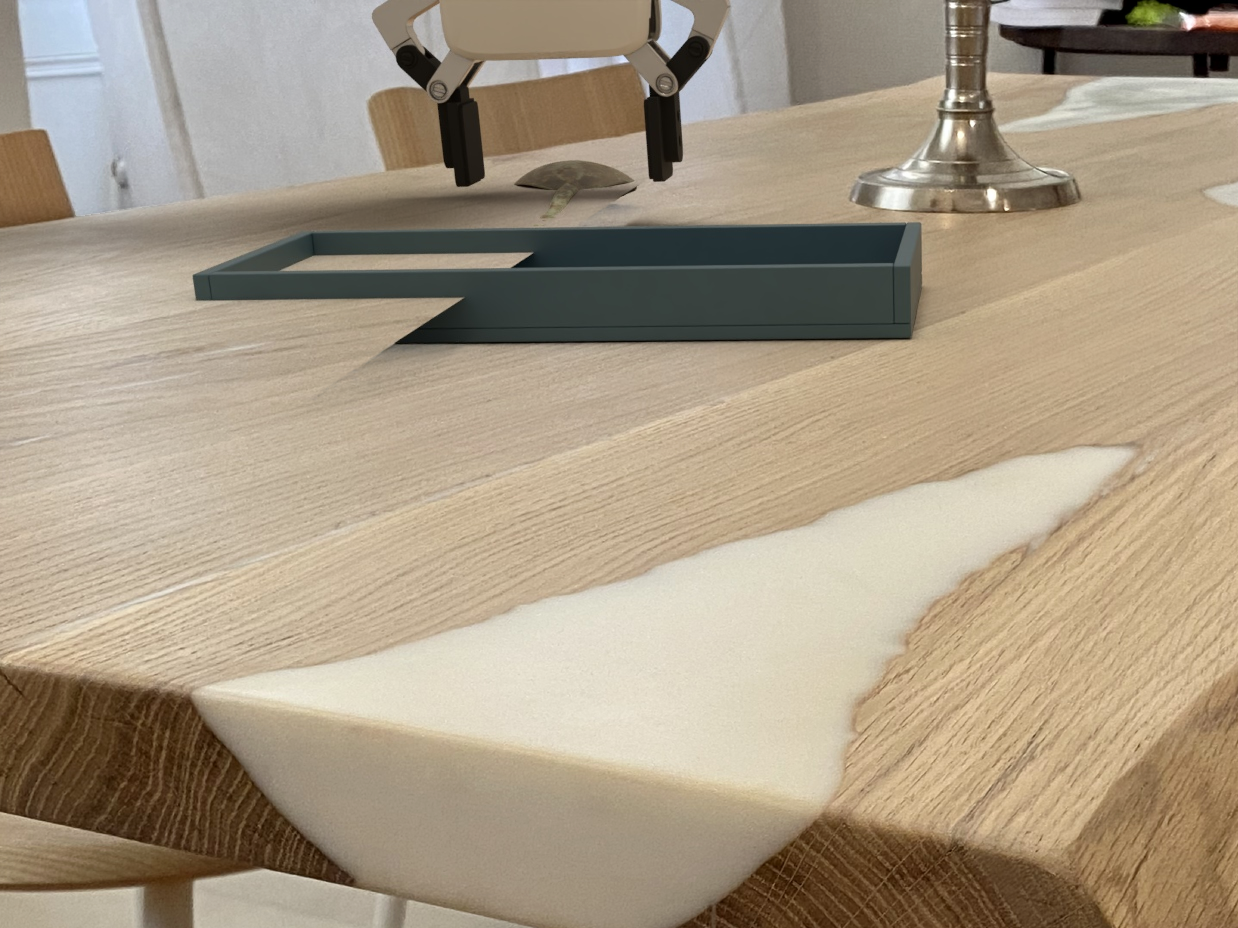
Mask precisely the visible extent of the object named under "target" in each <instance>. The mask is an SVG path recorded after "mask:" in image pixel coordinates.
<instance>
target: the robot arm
mask: <svg viewBox="0 0 1238 928" xmlns="http://www.w3.org/2000/svg"><path fill="white" fill-rule="evenodd" d="M670 1H671V2H673V3H675V4H677V5H679V6H682V7H683V8H684V9H687V10H689V12H691V14H692V15H693V24H692V26H691V28H690V29H691V30H690V32H689V34H688V37H687V39H686V41H684V43H683V44H682V45H681V46H680V48H679V49H678V50H677V51H676V52H675V53H674V54H673V56H672V57H671V56H670V55H669V54H668V53H667V52H666V50H665V49H664V48H663V47H662V46H661V45H660V43H658V41H659V39H660V37H661V34H662V28H663V26H662V25H663V14H662V13H663V11H662V1H661V0H386V1H384V2H383V3H381V4H380V5H378V6H376V7H375V8H374V9H373V11H372V13H371V20H372V22H373V24H374V26H375V27H376V29H377V31H378V32H379V34H380V36H381V37H382V39H383V41H384V42H385V44H386V45H387V47H388V49H389V51H391V52H392V54H393V55H394V58H395V62H396V64H397V66H398V67H399V68H400V69H401V70H402V71H403V72H404V74H406V75H408V77H410V78H411V80H413V81H414V82H415V83H416V84H417V85H418V86H419V87H421V89H423V90H424V91H425V92H426V95H427V96H428V98H429V100H431V101H432V102H434V103H436V105H437V114H438V122H439V132H440V141H441V150H442V158H443V164H444V166H445V168H446V169H453V173H454V174H453V175H454V182H455V186H456V187H457V188H468V187H471V186H473V185H475V184H477V183H479V182H481V181H482V180H483V179H485V177H486V171H485V170H486V169H485V159H484V151H483V141H482V132H481V130H482V129H481V122H480V121H481V120H480V112H479V104H478V101H477V100H475V98H474V97H471V96H470V90H469V89H470V85H471V84H472V82H473V81H474V80H475V78H476V77H477V76H478V74H479V72H480V70H481V69H482V68H483V66H484V65H485V63H486V62H487V61H488V62H492V61H496V62H497V61H499V62H500V61H501V62H502V61H533V60H534V61H535V60H537V61H539V60H568V59H596V58H612V57H613V58H614V57H621V56H623V57H624V58H625V59H626V60H627V62H629V64H630V65H631V66H632V67H633V68H634V69H635V70H636V71H637V72H638V74H639V75H640V76H641V77H642V78H643V79H644V80H645V82H646V83H647V84H648V94H649V96H648V97H646V99H644V100H643V114H644V115H643V116H644V128H645V129H644V130H645V142H646V157H647V173H648V179H649V180H652V181H653V182H654V183H661V182H662V183H665V182H666V181H668V179H670V178H671V177H673V175H674V164H673V163H681V162H683V158H684V144H683V129H682V113H681V99H680V98H681V97H680V92H681V91H683V90H684V88H685V86H686V85H687V84H688V83H689V81H690V80H692V78H693V77H694V76H695V74H697V72H698V71H699V70H700V69H701V67H703V65H704V64H705V63H706V62H707V60H709V58H710V57H711V55H712V54H713V50H714V48H715V45H716V43H717V41H718V39H719V36H720V34H721V31H722V30H723V27H724V25H725V23H726V20H727V17H728V16H729V14H730V11H731V10H730V9H731V2H730V0H670ZM437 5H439V13H440V22H441V29H442V34H443V38H444V40H445V44H446V45H447V47H448V49H449V51H448V53H447V54H446V55H445V57H444V58H443V60H442V61H441V60H439V58H437V57H436V56H435V55H434V54H433V53H432V52H431V51H430V50H428V49H427V47H425V46H424V45H423V44H422V43H421V41H420V39H419V38H418V35H417V33H416V32H415V29H414V22H415V20H416V19H417V18H418V17H420V16H421V15H423V14H425V13H426V12H428V11H429V10H432V9H433V8H434V7H436V6H437Z"/></svg>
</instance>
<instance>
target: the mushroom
mask: <svg viewBox="0 0 1238 928" xmlns="http://www.w3.org/2000/svg"><path fill="white" fill-rule="evenodd" d="M633 182H635V180H634V178H632V177H630V176H629V175H628V174H626V173H624V172H623V171H620V170H619V169H616V168H614V167H611V166H608V165H606V164H602V163H598V162H594V161H588V160H578V159H575V160H573V159H572V160H569V159H568V160H561V161H555V162H550V163H546V164H543V165H541V166H538V167H536V168H533V169H532V170H530V171H527V172H526V173H525V174H524V175H522V176H521V177H520V178H519V179H518V180H516V181H515V183H514V186H518V185H519V186H520V185H521V186H531V187H535V188H539V189H542V190H548V191H555V193H554V195H553V196H552V197H551V201H550V203H549V207H548V209H547V210H546V213H545V214H544V215H541V216H540V217H539V219H543V220H542V222H547V221H548V219H555V218H556V216H555V215H557V214H559V213H561V212H563V210H564V209H565V208H566V207H567V205H568V204H569V202H570V200H571V199H572V198H573V197H574V196H575V195H576V194H577V193H578V191H581V190H590V189H591V190H592V189H599V188H607V187H612V186H615V185H620V184H621V185H622V184H630V183H633ZM637 189H638V186H637V185H636V186H635V187H633V188H632V189H630V190H628V191H627V192H625V193H624V194H622V195H621V197H624V196H626V195H628V194H631V193H633V192H636V190H637ZM547 226H548V225H547V224H542V223H541V224H540V223H537V224H531V225H530V227H547Z"/></svg>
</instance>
